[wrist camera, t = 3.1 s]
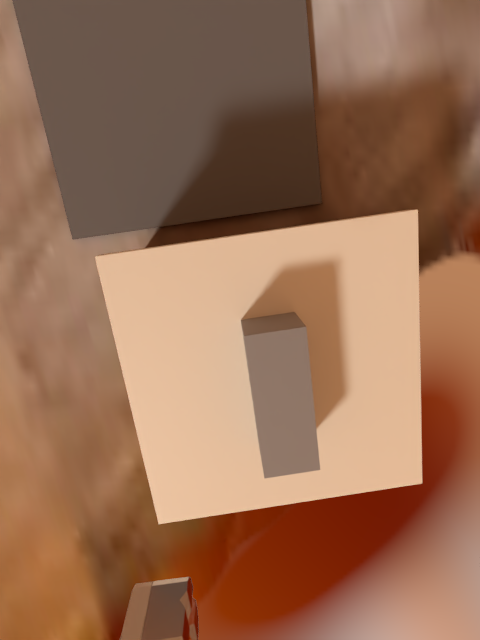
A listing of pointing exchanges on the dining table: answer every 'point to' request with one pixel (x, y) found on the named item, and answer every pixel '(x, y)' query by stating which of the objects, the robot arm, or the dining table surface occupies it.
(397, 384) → the lid panel
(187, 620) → the robot arm
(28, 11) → the mat
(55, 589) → the dining table surface
